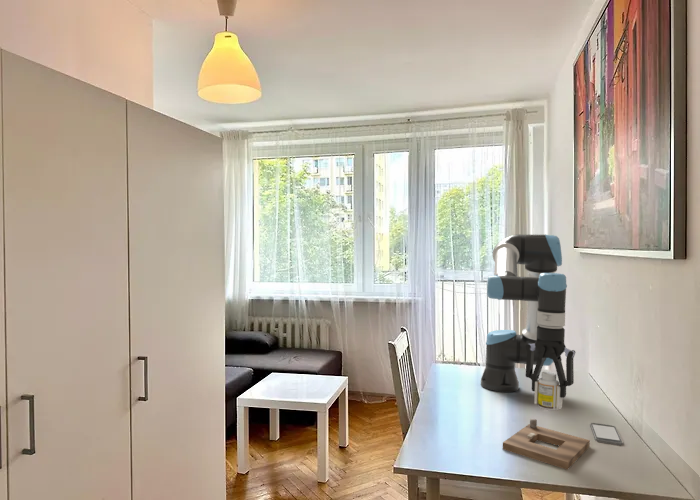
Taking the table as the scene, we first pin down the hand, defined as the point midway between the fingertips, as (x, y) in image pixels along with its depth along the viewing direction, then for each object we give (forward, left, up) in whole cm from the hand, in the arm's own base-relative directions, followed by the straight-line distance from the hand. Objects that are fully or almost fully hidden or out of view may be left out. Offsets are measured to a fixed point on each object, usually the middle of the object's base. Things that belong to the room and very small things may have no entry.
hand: (548, 405), depth 142 cm
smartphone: (-24, +10, -13) cm, 29 cm away
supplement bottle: (0, 0, -1) cm, 1 cm away
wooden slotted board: (0, 0, -13) cm, 13 cm away
